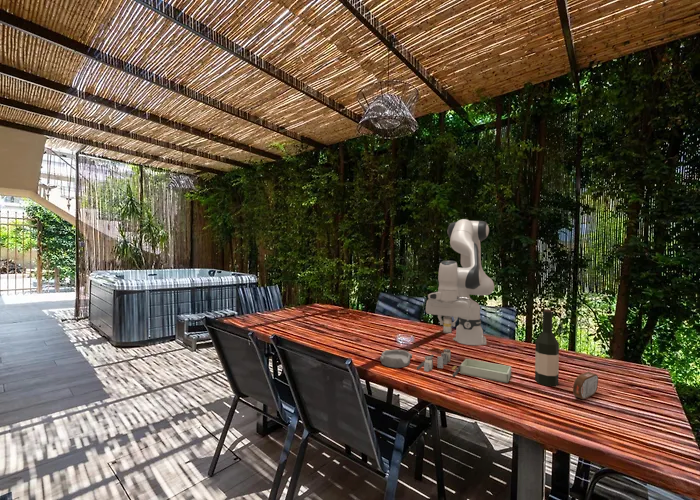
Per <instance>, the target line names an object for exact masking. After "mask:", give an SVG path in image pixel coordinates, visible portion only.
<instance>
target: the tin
mask: <svg viewBox="0 0 700 500" xmlns="http://www.w3.org/2000/svg"><path fill="white" fill-rule="evenodd" d="M598 386H599V376H598V374H596V373H594V372H591V371H587V372H584V373H581V374H579V375H578V376H576V378H575V380H574V383H573V388H572V393H573V396H574V397H575V398H578V399H580V400H585V399H588V398H590V397H592V396H594V395H595V394H596V392H597V390H598Z"/></svg>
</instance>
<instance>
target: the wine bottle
mask: <svg viewBox="0 0 700 500" xmlns="http://www.w3.org/2000/svg"><path fill="white" fill-rule="evenodd" d="M534 350H535V351H534V353H535V356H534V357H535V362H534V381H535V382H536V383H537V384H539V385H542V386H545V387H557V386H558V385H559V371H560V370H559V366H560V365H559V361H560V342H559V341H558V340H557V338H556V337H555V335H554V332H553V311H552V310H551V309H547V308H545V309H544V310H543V311H542V332H541V333H540V334H539V335H538V337H537V338H536V340H535V349H534Z"/></svg>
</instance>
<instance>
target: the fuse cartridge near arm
mask: <svg viewBox="0 0 700 500" xmlns="http://www.w3.org/2000/svg"><path fill="white" fill-rule="evenodd" d="M450 352H451V349H449V348H443V353H447V355H448V363H450V362H451V360H450Z"/></svg>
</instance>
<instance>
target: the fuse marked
mask: <svg viewBox="0 0 700 500" xmlns="http://www.w3.org/2000/svg"><path fill="white" fill-rule="evenodd" d="M442 317H443V318H442V320H443V321H444V322H443V325H442V326H443V328H442V329H443V330H442V333H443V334H452V333H453V332H452V328H453V326H451V322H453V317H451V316H442Z"/></svg>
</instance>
